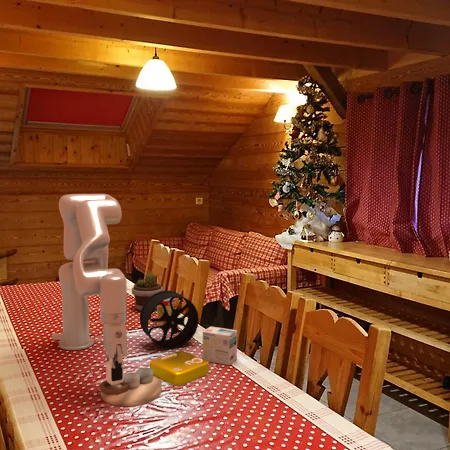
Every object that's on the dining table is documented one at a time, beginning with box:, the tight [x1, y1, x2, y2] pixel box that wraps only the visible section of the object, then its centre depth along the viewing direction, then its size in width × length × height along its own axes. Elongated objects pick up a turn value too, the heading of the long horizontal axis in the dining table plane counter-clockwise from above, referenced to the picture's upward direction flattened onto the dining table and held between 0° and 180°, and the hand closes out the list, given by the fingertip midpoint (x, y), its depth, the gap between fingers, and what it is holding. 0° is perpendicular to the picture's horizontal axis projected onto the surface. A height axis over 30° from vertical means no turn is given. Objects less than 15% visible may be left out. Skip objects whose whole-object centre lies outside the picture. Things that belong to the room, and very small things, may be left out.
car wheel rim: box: [139, 290, 200, 350], centre depth 188 cm, size 20×10×20 cm, turn 116°
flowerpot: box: [131, 270, 164, 312], centre depth 235 cm, size 14×15×20 cm
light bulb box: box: [202, 326, 238, 366], centre depth 174 cm, size 11×7×11 cm, turn 65°
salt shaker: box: [105, 355, 123, 385], centre depth 146 cm, size 4×4×10 cm
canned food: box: [156, 298, 177, 326], centre depth 211 cm, size 8×8×12 cm
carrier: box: [99, 367, 163, 407], centre depth 149 cm, size 18×18×5 cm
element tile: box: [149, 350, 210, 387], centre depth 163 cm, size 15×15×5 cm
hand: (114, 376), depth 146 cm, fingers closed on salt shaker, 4 cm apart
